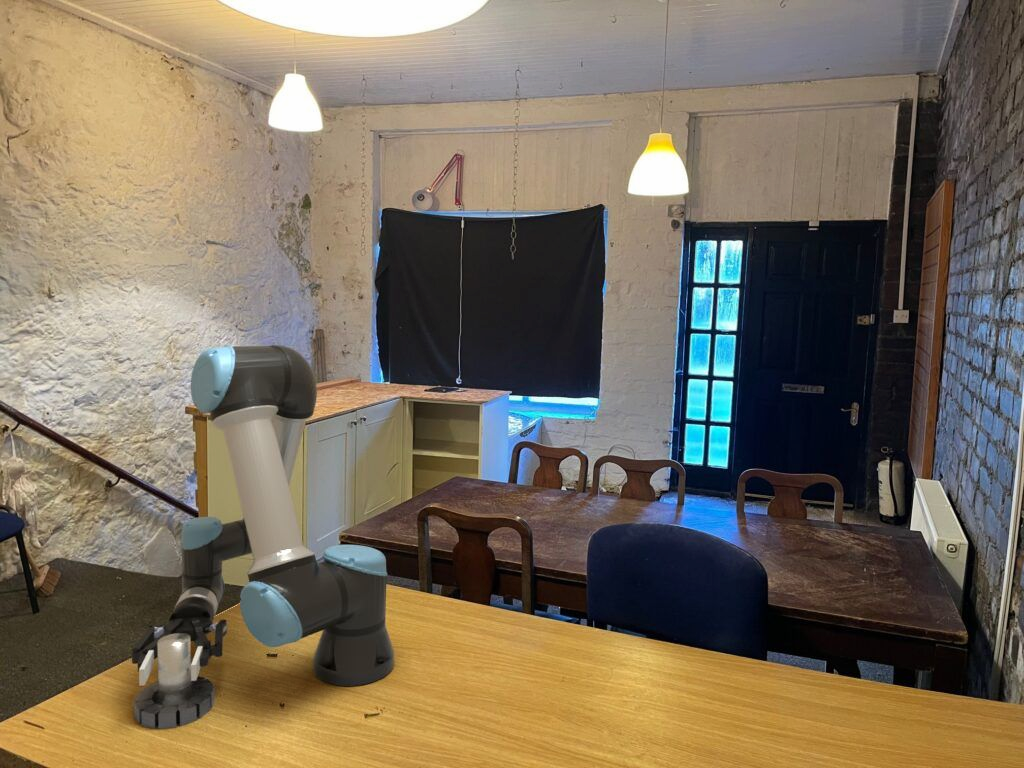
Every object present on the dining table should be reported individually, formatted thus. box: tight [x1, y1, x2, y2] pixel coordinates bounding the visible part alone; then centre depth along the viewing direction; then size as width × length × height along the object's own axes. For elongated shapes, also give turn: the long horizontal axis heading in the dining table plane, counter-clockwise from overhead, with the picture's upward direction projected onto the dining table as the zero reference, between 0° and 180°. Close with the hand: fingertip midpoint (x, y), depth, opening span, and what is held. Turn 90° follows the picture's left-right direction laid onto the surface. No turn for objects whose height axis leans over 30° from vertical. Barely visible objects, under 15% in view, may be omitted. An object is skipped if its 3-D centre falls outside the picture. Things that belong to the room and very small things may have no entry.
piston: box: [157, 633, 192, 706], centre depth 120 cm, size 5×5×12 cm
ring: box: [133, 675, 215, 730], centre depth 120 cm, size 12×12×2 cm
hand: (167, 675), depth 115 cm, fingers open, 7 cm apart
